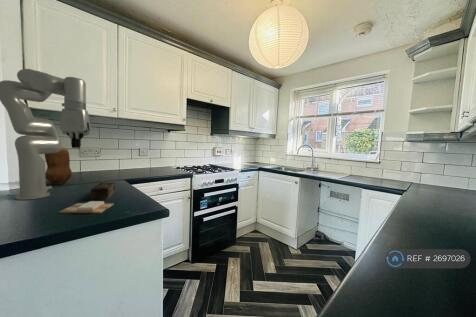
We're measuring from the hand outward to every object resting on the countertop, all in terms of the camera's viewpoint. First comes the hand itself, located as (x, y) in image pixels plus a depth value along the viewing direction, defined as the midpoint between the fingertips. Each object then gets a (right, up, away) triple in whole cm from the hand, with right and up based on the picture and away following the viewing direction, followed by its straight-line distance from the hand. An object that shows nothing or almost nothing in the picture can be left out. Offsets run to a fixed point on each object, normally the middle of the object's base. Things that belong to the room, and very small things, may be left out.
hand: (76, 147), depth 91 cm
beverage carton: (-1, -26, +20) cm, 33 cm away
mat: (+6, -27, -1) cm, 28 cm away
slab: (+6, -26, -3) cm, 27 cm away
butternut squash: (-45, -22, +43) cm, 66 cm away
